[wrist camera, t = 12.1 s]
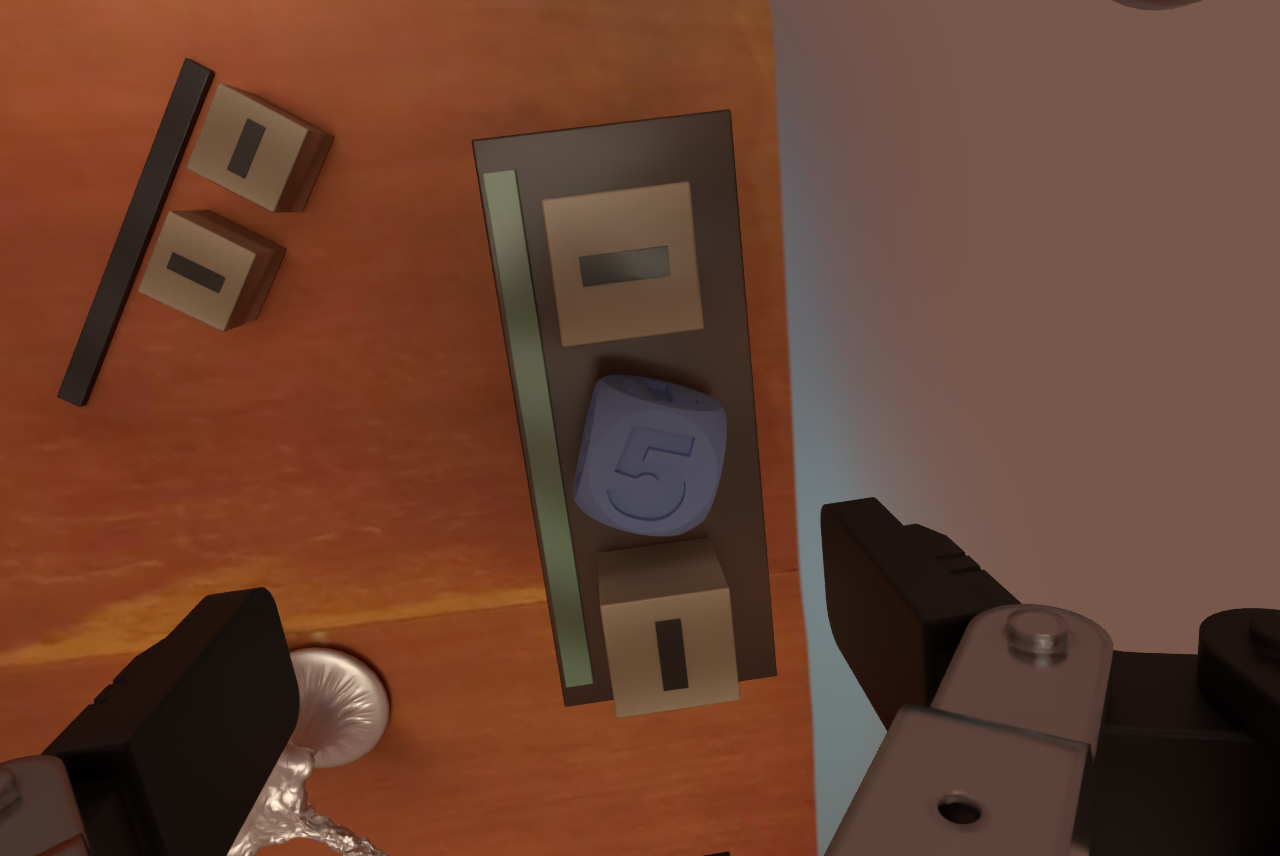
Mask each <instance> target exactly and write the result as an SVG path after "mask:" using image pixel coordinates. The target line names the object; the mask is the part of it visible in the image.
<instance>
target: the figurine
mask: <svg viewBox="0 0 1280 856" xmlns="http://www.w3.org/2000/svg"><path fill="white" fill-rule="evenodd" d="M289 653H290V657H291V660H292V664H293V668H294V671H295V675H296V678H297V682H298V687H299V695H300V708H299V717H298V721H297V725H296V728H295V730H294V732H293V734H292V736H291V737H290V739H289V741H288V743H287V745H286V747H285V748H284V750H283V752H282V754H281V756H280V758H279V760H278V761H277V763H276V765H275V767H274V769H273V771H272V773H271V774H270V776H269V778H268V780H267V782H266V784H265V786H264V787H263V789H262V791H261V793H260V795H259V797H258V799H257V800H256V802H255V804H254V806H253V808H252V810H251V812H250V813H249V815H248V817H247V819H246V821H245V823H244V825H243V826H242V828H241V830H240V832H239V834H238V836H237V837H236V839H235V841H234V843H233V845H232V847H231V849H230V850H229V852H228V854H227V856H255V854H256V853H257V852H258V851H259V850H260V848H261V847H264V846H269V845H274V844H283V843H284V842H285V841H289V840H290V839H292V838H295V837H300V838H310V839H314V840H315V841H317V842H319V843H326V844H327V845H328V846H329V847H330V848H331V849H332V850H335V851H336V852H339V853H340V854H342V855H343V856H389V855H388V854H386V853H385V852H384V851H383V850H382V849H378V848H377V847H375V846H374V844H373V843H372V842H371V840H370V839H369V838H368V837H358V836H357V835H356V834H355V833H353V832H352V831H350V830H349V829H348V828H347V827H345V826H343V825H341V824H337V823H334V822H332V820H331V819H330V818H329V817H328V816H325V815H321V814H315V813H314V810H315V804H313V803H308V802H307V800H308V793H307V792H306V790H305V784H306V778H308V776H310V775H311V774H312V771H313V768H333V767H338V766H343V765H346V764H349V763H352V762H354V761H356V760H358V759H360V758H361V757H363V756H364V755H366V754H367V753H368V752H370V751H371V750H372V749H373V748H374V747H375V746H376V745H377V743H378V742H379V741H380V739H381V738H382V736H383V734H384V732H385V730H386V728H387V724H388V720H389V702H388V696H387V693H386V691H385V689H384V686H383V684H382V682H381V681H380V680H379V678H378V677H377V675H376V674H375V672H374V671H372V670H371V669H370V668H369V667H368V666H367V665H366V664H365V663H363V662H362V661H360V660H358V659H357V658H356V657H354V656H352V655H349V654H346V653H344V652H342V651H338V650H333V649H330V648H317V647H311V648H304V649H298V650H295V651H291V652H289Z"/></svg>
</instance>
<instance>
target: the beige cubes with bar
mask: <svg viewBox="0 0 1280 856" xmlns="http://www.w3.org/2000/svg"><path fill="white" fill-rule="evenodd" d="M213 76H214V72H213V71H211V70H209V69H207V68H206V67H204V66H202V65H200V64H198V63H196V62H194V61H192V60H191V59H188V58H186V59H185V61H184V63H183V66H182V69H181V71H180V74H179V77H178V79H177V82H176V85H175V87H174V90H173V92H172V95H171V98H170V100H169V103H168V106H167V108H166V111H165V114H164V116H163V119H162V121H161V124H160V127H159V129H158V132H157V135H156V137H155V140H154V143H153V145H152V148H151V150H150V153H149V156H148V158H147V161H146V164H145V166H144V169H143V172H142V174H141V177H140V179H139V182H138V185H137V187H136V190H135V193H134V195H133V198H132V201H131V203H130V206H129V208H128V211H127V214H126V216H125V219H124V222H123V224H122V227H121V230H120V232H119V235H118V237H117V240H116V243H115V245H114V248H113V251H112V253H111V256H110V259H109V261H108V264H107V266H106V269H105V272H104V274H103V277H102V280H101V282H100V285H99V288H98V290H97V293H96V295H95V298H94V301H93V303H92V306H91V309H90V311H89V314H88V317H87V319H86V322H85V324H84V327H83V330H82V332H81V335H80V338H79V340H78V343H77V346H76V348H75V351H74V353H73V356H72V359H71V361H70V364H69V367H68V369H67V372H66V375H65V377H64V380H63V382H62V385H61V388H60V390H59V393H58V396H57V397H58V398H61V399H63V400H65V401H68V402H70V403H72V404H74V405H77V406H79V407H82V406H84V405H86V403H87V400H88V397H89V395H90V392H91V390H92V387H93V385H94V382H95V379H96V377H97V374H98V372H99V369H100V367H101V364H102V361H103V359H104V356H105V354H106V351H107V349H108V346H109V343H110V341H111V338H112V336H113V333H114V331H115V328H116V325H117V323H118V320H119V318H120V315H121V312H122V310H123V307H124V305H125V302H126V300H127V297H128V294H129V292H130V289H131V287H132V284H133V282H134V279H135V276H136V274H137V271H138V269H139V266H140V264H141V261H142V258H143V256H144V253H145V251H146V248H147V246H148V243H149V240H150V238H151V235H152V233H153V230H154V228H155V225H156V222H157V220H158V217H159V215H160V212H161V209H162V207H163V204H164V202H165V199H166V197H167V194H168V191H169V189H170V186H171V184H172V181H173V179H174V176H175V173H176V171H177V168H178V166H179V163H180V161H181V158H182V155H183V153H184V150H185V148H186V145H187V143H188V140H189V137H190V135H191V132H192V130H193V127H194V125H195V122H196V119H197V117H198V114H199V112H200V109H201V106H202V104H203V101H204V99H205V96H206V94H207V91H208V88H209V86H210V83H211V81H212V78H213ZM333 139H334V136H333V135H331V134H329V133H327V132H325V131H324V130H322V129H320V128H318V127H316V126H314V125H312V124H310V123H309V122H307V121H305V120H303V119H301V118H299V117H297V116H295V115H294V114H292V113H290V112H288V111H286V110H284V109H282V108H280V107H279V106H277V105H275V104H273V103H271V102H269V101H267V100H265V99H264V98H262V97H260V96H258V95H256V94H253V93H250V92H247V91H244V90H241V89H238V88H235V87H232V86H229V85H226V84H223V83H219V85H218V87H217V90H216V92H215V95H214V97H213V100H212V103H211V105H210V108H209V110H208V113H207V115H206V118H205V120H204V123H203V126H202V128H201V131H200V133H199V136H198V138H197V141H196V143H195V146H194V149H193V151H192V154H191V156H190V159H189V161H188V164H187V167H186V168H187V169H188V170H190V171H192V172H194V173H196V174H198V175H200V176H202V177H204V178H206V179H208V180H209V181H211V182H213V183H215V184H217V185H219V186H221V187H223V188H225V189H227V190H229V191H231V192H233V193H235V194H237V195H239V196H241V197H243V198H245V199H247V200H249V201H251V202H253V203H255V204H257V205H259V206H261V207H263V208H265V209H267V210H269V211H271V212H302V211H303V209H304V207H305V204H306V202H307V200H308V197H309V195H310V193H311V190H312V188H313V185H314V183H315V181H316V178H317V176H318V174H319V171H320V169H321V167H322V164H323V162H324V160H325V157H326V155H327V153H328V150H329V148H330V146H331V143H332V141H333ZM285 251H286V249H285V248H283V247H281V246H279V245H277V244H275V243H273V242H271V241H269V240H267V239H265V238H263V237H261V236H259V235H257V234H255V233H253V232H251V231H249V230H247V229H245V228H243V227H241V226H239V225H237V224H235V223H233V222H231V221H229V220H227V219H225V218H223V217H221V216H219V215H217V214H215V213H213V212H211V211H209V210H197V211H169V212H168V215H167V217H166V220H165V223H164V225H163V228H162V230H161V233H160V235H159V238H158V240H157V243H156V246H155V248H154V251H153V253H152V256H151V258H150V261H149V264H148V266H147V269H146V271H145V274H144V276H143V279H142V281H141V284H140V287H139V289H138V291H139V292H140V293H142V294H144V295H146V296H149V297H151V298H153V299H155V300H157V301H159V302H161V303H163V304H165V305H167V306H170V307H172V308H174V309H176V310H178V311H180V312H182V313H184V314H186V315H189V316H191V317H193V318H195V319H197V320H199V321H201V322H203V323H205V324H208V325H210V326H212V327H214V328H216V329H218V330H220V331H222V332H224V331H227V330H230V329H232V328H235V327H238V326H241V325H243V324H246V323H249V322H252V321H254V320H256V319H257V317H258V315H259V312H260V310H261V308H262V305H263V303H264V301H265V298H266V296H267V293H268V291H269V289H270V286H271V284H272V282H273V279H274V277H275V275H276V272H277V270H278V268H279V265H280V263H281V261H282V258H283V256H284V254H285Z"/></svg>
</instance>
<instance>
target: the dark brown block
mask: <svg viewBox="0 0 1280 856" xmlns="http://www.w3.org/2000/svg"><path fill="white" fill-rule="evenodd" d="M472 147H473V153H474V159H475V165H476V171H477V177H478V183H479V190H480V196H481V202H482V208H483V214H484V220H485V226H486V232H487V238H488V244H489V250H490V256H491V262H492V268H493V274H494V280H495V286H496V293H497V299H498V305H499V311H500V317H501V323H502V329H503V335H504V341H505V347H506V353H507V359H508V365H509V371H510V377H511V383H512V390H513V396H514V402H515V408H516V414H517V420H518V426H519V432H520V438H521V444H522V450H523V456H524V462H525V468H526V474H527V480H528V486H529V493H530V499H531V505H532V511H533V517H534V523H535V529H536V535H537V541H538V547H539V553H540V559H541V565H542V571H543V577H544V583H545V589H546V596H547V602H548V608H549V614H550V620H551V626H552V632H553V638H554V644H555V650H556V656H557V662H558V668H559V674H560V680H561V686H562V693H563V699H564V705H565V706H566V707H567V706H574V705H581V704H588V703H594V702H601V701H608V700H614V706H615V713H616V717H617V718H620V717H627V716H634V715H641V714H648V713H654V712H661V711H668V710H675V709H682V708H689V707H695V706H702V705H709V704H716V703H723V702H729V701H736V700H740V693H739V683H738V682H739V681H745V680H752V679H759V678H766V677H773V676H777V669H776V657H775V645H774V632H773V620H772V608H771V596H770V584H769V572H768V560H767V547H766V535H765V523H764V511H763V499H762V487H761V474H760V462H759V450H758V438H757V426H756V414H755V401H754V389H753V377H752V365H751V353H750V341H749V329H748V316H747V304H746V292H745V280H744V268H743V256H742V243H741V231H740V219H739V207H738V195H737V183H736V170H735V158H734V146H733V134H732V122H731V111H730V110H729V109H728V110H719V111H711V112H702V113H694V114H686V115H677V116H669V117H661V118H652V119H644V120H635V121H627V122H619V123H610V124H602V125H594V126H585V127H577V128H568V129H560V130H552V131H543V132H535V133H527V134H518V135H510V136H501V137H493V138H485V139H476V140H472ZM608 375H632V376H640V377H646V378H652V379H657V380H661V381H666V382H670V383H673V384H677V385H681V386H684V387H687V388H690V389H693V390H696V391H698V392H701V393H703V394H706V395H708V396H710V397H712V398H713V399H715V400H717V401H718V402H719V403H720V404H721V405H722V407H723V409H724V410H725V414H726V420H727V437H726V448H725V456H724V462H723V467H722V472H721V477H720V481H719V485H718V488H717V492H716V495H715V498H714V501H713V504H712V506H711V508H710V511H709V513H708V515H707V516H706V518H705V519H704V521H703V522H702V523H700V524H699V525H697V526H696V527H694V528H693V529H691V530H689V531H687V532H685V533H683V534H680V535H675V536H648V535H641V534H636V533H631V532H627V531H623V530H620V529H616V528H613V527H611V526H608V525H606V524H603V523H601V522H599V521H597V520H595V519H593V518H591V517H590V516H588V515H587V514H585V513H584V512H583V511H582V510H581V509H580V508H579V507H578V505H577V504H576V502H575V501H574V499H573V492H574V483H575V476H576V469H577V463H578V458H579V452H580V447H581V442H582V437H583V432H584V427H585V423H586V418H587V414H588V410H589V405H590V402H591V398H592V394H593V391H594V388H595V385H596V382H597V381H599V380H600V379H602V378H603V377H605V376H608Z"/></svg>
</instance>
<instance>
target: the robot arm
mask: <svg viewBox="0 0 1280 856" xmlns="http://www.w3.org/2000/svg"><path fill="white" fill-rule="evenodd" d="M821 536H822V549H823V563H824V577H825V591H826V602H827V611H828V617H829V622H830V626H831V630H832V633H833V636H834V639H835V641H836V644H837V646H838V647H839V650H840V651H841V653H842V654H843V656H844V658H845V660H846V661H847V663H848V664H849V667H850V668H851V670H852V671H853V673H854V675H855V677H856V678H857V680H858V682H859V684H860V685H861V687H862V689H863V691H864V692H865V694H866V696H867V697H868V699H869V701H870V702H871V704H872V706H873V707H874V709H875V711H876V713H877V714H878V716H879V718H880V720H881V721H882V723H883V725H884V726H885V728H886V730H887V734H886V736H885V738H884V740H883V742H882V744H881V745H880V747H879V750H878V751H877V754H876V755H875V757H874V759H873V761H872V763H871V765H870V767H869V769H868V771H867V773H866V775H865V777H864V779H863V780H862V782H861V784H860V786H859V788H858V790H857V792H856V794H855V796H854V798H853V800H852V802H851V804H850V806H849V808H848V810H847V812H846V814H845V815H844V817H843V819H842V821H841V823H840V825H839V827H838V829H837V831H836V833H835V835H834V837H833V839H832V841H831V843H830V845H829V847H828V849H827V850H826V852H825V855H824V856H1280V610H1275V609H1262V608H1243V609H1233V610H1227V611H1222V612H1219V613H1216V614H1213V615H1211V616H1209V617H1207V618H1206V619H1205V620H1204V621H1203V622H1202V624H1201V626H1200V629H1199V644H1198V655H1194V654H1165V653H1137V652H1122V651H1115V650H1113V642H1112V640H1111V637H1110V636H1109V635H1108V633H1107V632H1106V631H1105V630H1104V629H1103V628H1102V627H1101V626H1100V625H1098V624H1097V623H1095V622H1094V621H1092V620H1090V619H1088V618H1086V617H1084V616H1082V615H1080V614H1077V613H1074V612H1072V611H1068V610H1065V609H1061V608H1056V607H1051V606H1045V605H1035V604H1022V603H1020V602H1019V601H1018V600H1017V599H1016V598H1015V597H1014V596H1013V595H1012V594H1010V593H1009V592H1008V591H1007V590H1006V589H1005V588H1004V587H1003V586H1002V585H1000V584H999V583H998V582H997V581H996V580H995V579H994V578H993V577H991V576H990V575H989V574H988V573H987V572H986V571H985V570H981V569H980V566H979V565H978V564H977V563H976V562H975V561H974V560H973V559H972V558H971V557H969V556H966V555H965V552H964V551H963V550H962V549H961V548H960V547H958V546H957V545H956V544H955V543H954V542H953V541H952V540H951V539H950V538H948V537H947V536H946V535H943V534H941V533H938V532H936V531H934V530H931V529H929V528H926V527H924V526H921V525H919V524H911V525H905V526H903V525H902V524H901V523H900V522H899V521H898V520H897V519H896V518H895V517H894V516H893V515H892V514H891V513H890V512H889V511H888V510H887V509H886V508H885V507H884V506H883V505H882V504H881V503H880V502H879V501H878V500H877V499H876V498H874V497H871V498H864V499H858V500H851V501H845V502H837V503H831V504H825V505H823V506H822V509H821ZM299 708H300V695H299V687H298V682H297V678H296V675H295V671H294V668H293V664H292V660H291V657H290V653H289V650H288V646H287V642H286V639H285V635H284V632H283V628H282V624H281V621H280V617H279V614H278V610H277V606H276V603H275V601H274V598H273V596H272V595H271V593H270V592H269V591H268V590H267V589H266V588H263V587H259V588H252V589H245V590H239V591H232V592H225V593H218V594H212V595H208V596H206V597H205V598H203V599H202V600H201V601H200V602H199V604H198V605H197V606H196V607H195V608H194V609H193V610H192V611H191V612H190V613H189V614H188V615H187V616H186V617H185V618H184V619H183V620H182V621H181V622H180V624H179V625H178V626H177V627H176V628H175V629H174V630H173V631H172V632H171V633H170V634H169V635H168V636H167V637H166V638H164V639H163V640H161V641H160V642H158V643H156V644H155V645H153V646H152V647H150V648H149V649H147V650H146V651H144V652H142V653H141V654H139V655H138V656H136V657H135V658H134V659H133V660H132V661H131V662H130V663H129V664H128V665H127V666H126V667H125V668H124V669H123V670H122V671H121V672H120V673H119V674H118V675H117V677H116V678H115V679H114V680H113V684H110V685H108V686H107V687H106V688H105V689H104V690H103V691H102V692H101V693H100V694H99V695H98V696H97V697H96V698H95V699H94V704H90V705H88V706H87V707H86V708H85V709H84V710H83V711H82V712H81V713H80V714H79V715H78V716H77V717H76V719H75V720H74V721H73V722H72V723H71V724H70V725H69V726H68V727H67V728H66V729H65V730H64V731H63V732H62V733H61V734H60V735H59V736H58V737H57V738H56V739H55V740H54V741H53V742H52V743H51V744H50V745H49V746H48V747H47V748H46V749H45V750H44V751H43V752H42V753H41V754H40V755H33V756H26V757H21V758H16V759H13V760H9V761H5V762H2V763H0V856H227V854H228V852H229V850H230V849H231V847H232V845H233V843H234V841H235V839H236V837H237V836H238V834H239V832H240V830H241V828H242V826H243V825H244V823H245V821H246V819H247V817H248V815H249V813H250V812H251V810H252V808H253V806H254V804H255V802H256V800H257V799H258V797H259V795H260V793H261V791H262V789H263V787H264V786H265V784H266V782H267V780H268V778H269V776H270V774H271V773H272V771H273V769H274V767H275V765H276V763H277V761H278V760H279V758H280V756H281V754H282V752H283V750H284V748H285V747H286V745H287V743H288V741H289V739H290V737H291V736H292V734H293V732H294V730H295V728H296V725H297V721H298V717H299ZM704 856H730V852H723V853H717V854H710V855H704Z"/></svg>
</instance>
